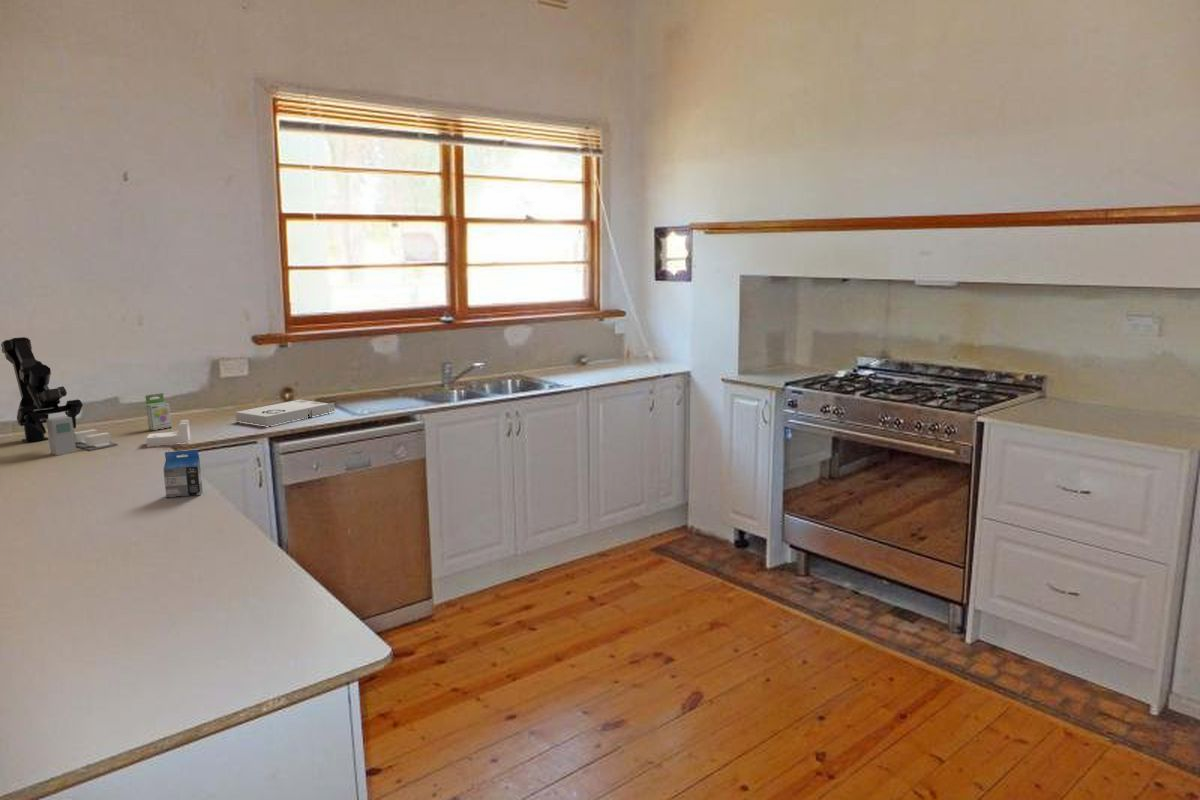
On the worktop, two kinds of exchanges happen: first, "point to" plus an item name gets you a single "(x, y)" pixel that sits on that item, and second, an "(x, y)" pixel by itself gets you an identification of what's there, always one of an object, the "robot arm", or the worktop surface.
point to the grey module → (61, 435)
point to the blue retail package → (182, 474)
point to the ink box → (158, 412)
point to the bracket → (170, 436)
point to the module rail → (92, 440)
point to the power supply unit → (291, 412)
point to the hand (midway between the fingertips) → (60, 430)
